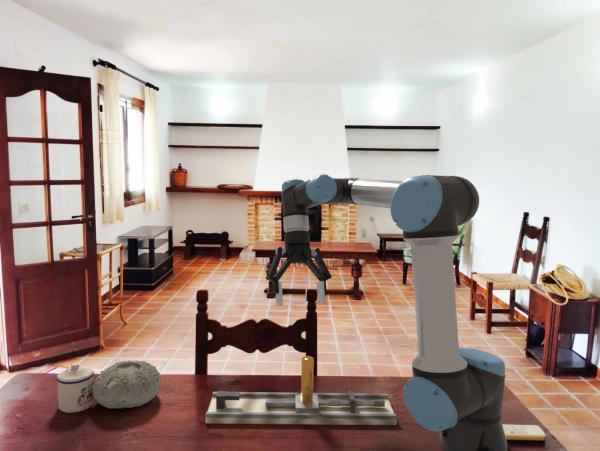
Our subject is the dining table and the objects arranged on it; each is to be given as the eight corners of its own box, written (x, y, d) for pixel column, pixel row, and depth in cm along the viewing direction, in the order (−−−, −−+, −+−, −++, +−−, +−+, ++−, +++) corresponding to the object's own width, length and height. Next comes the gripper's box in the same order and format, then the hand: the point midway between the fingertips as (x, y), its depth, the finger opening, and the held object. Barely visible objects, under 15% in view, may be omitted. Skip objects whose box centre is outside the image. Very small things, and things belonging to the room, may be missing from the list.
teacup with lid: (82, 415, 123) (81, 372, 121) (50, 412, 124) (48, 370, 122) (106, 393, 134) (105, 354, 133) (77, 391, 136) (75, 352, 134)
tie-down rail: (386, 401, 133) (387, 385, 132) (396, 425, 121) (397, 406, 121) (213, 400, 132) (213, 383, 131) (205, 423, 120) (205, 404, 119)
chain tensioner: (381, 399, 130) (384, 354, 129) (387, 413, 123) (389, 365, 122) (266, 398, 130) (266, 352, 128) (264, 411, 123) (265, 363, 121)
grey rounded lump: (150, 418, 122) (149, 382, 121) (81, 417, 122) (79, 380, 120) (168, 386, 140) (168, 354, 138) (108, 385, 139) (107, 353, 138)
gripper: (326, 236, 148) (331, 304, 143) (252, 233, 136) (255, 307, 132) (339, 231, 141) (345, 302, 137) (262, 227, 130) (266, 305, 125)
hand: (301, 305), depth 134 cm, fingers open, 13 cm apart
